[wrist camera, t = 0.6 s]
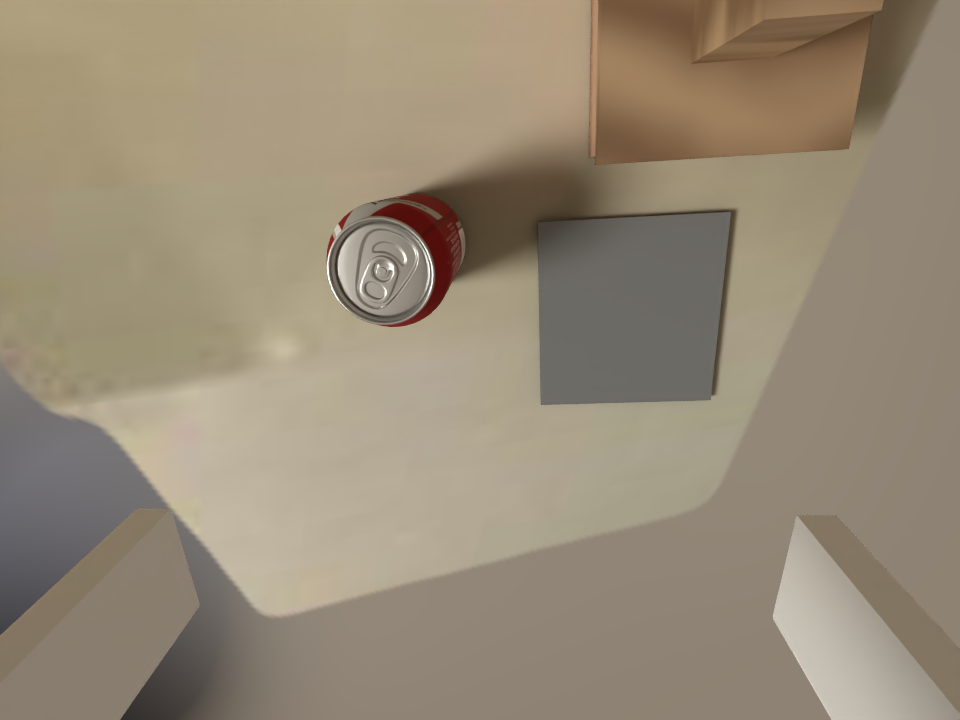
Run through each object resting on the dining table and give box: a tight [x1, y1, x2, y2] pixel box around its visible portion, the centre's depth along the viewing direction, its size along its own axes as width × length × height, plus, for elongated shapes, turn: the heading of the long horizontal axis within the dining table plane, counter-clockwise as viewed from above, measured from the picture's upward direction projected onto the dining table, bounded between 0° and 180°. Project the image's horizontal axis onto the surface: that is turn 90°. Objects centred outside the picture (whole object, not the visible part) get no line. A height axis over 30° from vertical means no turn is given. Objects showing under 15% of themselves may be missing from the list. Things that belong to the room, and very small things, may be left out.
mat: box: [538, 211, 731, 405], centre depth 37 cm, size 14×13×1 cm
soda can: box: [327, 194, 466, 327], centre depth 31 cm, size 7×7×12 cm
